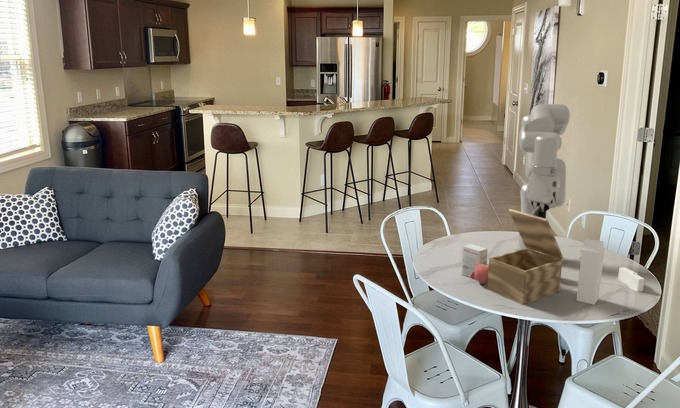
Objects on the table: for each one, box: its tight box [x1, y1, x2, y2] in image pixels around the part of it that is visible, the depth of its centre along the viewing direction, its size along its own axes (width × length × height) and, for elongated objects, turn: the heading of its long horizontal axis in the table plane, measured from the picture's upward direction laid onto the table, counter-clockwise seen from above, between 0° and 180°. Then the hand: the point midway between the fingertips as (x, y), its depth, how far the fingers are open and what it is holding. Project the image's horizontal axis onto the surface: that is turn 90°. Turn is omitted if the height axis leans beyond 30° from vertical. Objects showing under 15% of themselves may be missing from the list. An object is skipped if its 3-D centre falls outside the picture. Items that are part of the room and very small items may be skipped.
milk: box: [576, 238, 605, 305], centre depth 196 cm, size 6×6×22 cm
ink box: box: [461, 243, 488, 280], centre depth 219 cm, size 9×5×12 cm, turn 39°
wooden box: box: [486, 248, 563, 305], centre depth 206 cm, size 20×16×12 cm
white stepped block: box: [617, 266, 645, 292], centre depth 210 cm, size 15×11×6 cm
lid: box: [508, 205, 564, 261], centre depth 206 cm, size 20×16×7 cm
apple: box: [474, 263, 489, 285], centre depth 213 cm, size 7×7×8 cm
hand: (539, 220), depth 204 cm, fingers closed
